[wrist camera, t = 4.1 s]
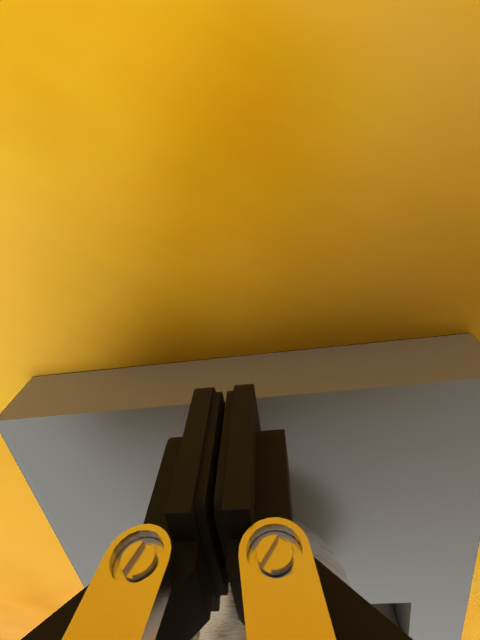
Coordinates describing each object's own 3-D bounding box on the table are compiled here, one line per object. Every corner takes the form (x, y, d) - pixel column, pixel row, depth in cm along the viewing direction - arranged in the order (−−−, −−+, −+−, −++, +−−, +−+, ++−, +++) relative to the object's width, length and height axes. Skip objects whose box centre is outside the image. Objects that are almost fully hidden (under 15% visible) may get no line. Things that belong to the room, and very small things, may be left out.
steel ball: (337, 463, 13) (388, 699, 8) (342, 572, 16) (384, 804, 11) (162, 475, 14) (100, 701, 8) (195, 578, 16) (164, 798, 11)
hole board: (470, 333, 14) (511, 375, 11) (426, 675, 24) (443, 732, 22) (32, 376, 15) (-7, 421, 13) (171, 679, 26) (162, 731, 24)
